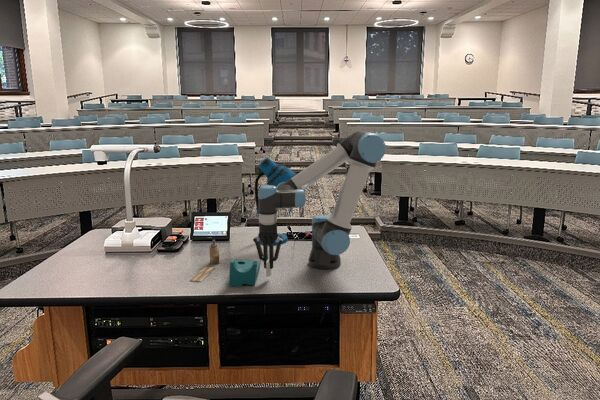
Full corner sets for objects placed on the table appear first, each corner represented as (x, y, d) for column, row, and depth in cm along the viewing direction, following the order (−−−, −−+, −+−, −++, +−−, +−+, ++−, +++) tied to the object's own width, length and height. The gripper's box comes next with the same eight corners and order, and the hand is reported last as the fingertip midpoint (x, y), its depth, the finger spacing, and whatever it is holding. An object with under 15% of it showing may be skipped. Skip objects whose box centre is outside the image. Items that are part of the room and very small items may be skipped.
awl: (220, 261, 231) (219, 238, 228) (217, 264, 227) (216, 241, 224) (212, 260, 232) (211, 238, 229) (208, 264, 228) (207, 241, 225)
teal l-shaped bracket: (254, 288, 202) (256, 264, 199) (228, 285, 202) (230, 262, 200) (259, 271, 219) (261, 250, 217) (235, 269, 220) (237, 247, 217)
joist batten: (215, 268, 222) (215, 267, 222) (200, 282, 207) (200, 281, 207) (204, 267, 223) (204, 266, 223) (189, 281, 208) (189, 280, 208)
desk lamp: (297, 245, 253) (296, 159, 243) (255, 245, 253) (252, 160, 242) (296, 235, 269) (296, 155, 259) (257, 236, 269) (254, 155, 258)
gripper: (285, 221, 205) (285, 273, 210) (255, 219, 207) (256, 271, 213) (280, 226, 197) (281, 280, 203) (250, 224, 200) (251, 277, 206)
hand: (268, 275), depth 208 cm, fingers closed
